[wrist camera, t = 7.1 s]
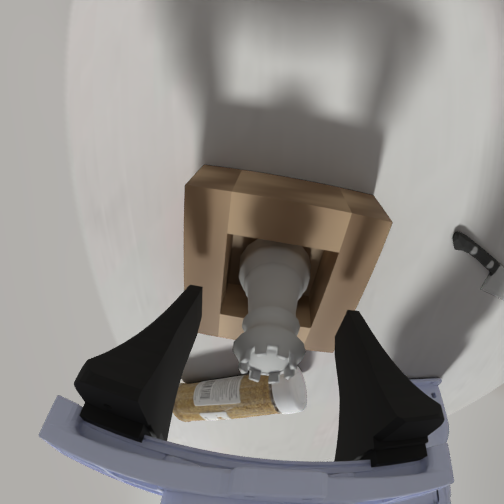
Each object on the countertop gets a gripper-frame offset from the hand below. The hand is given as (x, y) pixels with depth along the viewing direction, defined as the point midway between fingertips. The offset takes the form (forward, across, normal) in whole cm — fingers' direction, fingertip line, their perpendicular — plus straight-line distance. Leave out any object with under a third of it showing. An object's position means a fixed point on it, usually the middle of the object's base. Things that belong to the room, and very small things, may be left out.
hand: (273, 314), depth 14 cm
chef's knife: (+6, -21, -1) cm, 22 cm away
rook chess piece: (+5, 0, 0) cm, 5 cm away
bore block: (+6, 0, 0) cm, 6 cm away
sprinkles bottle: (+3, +7, +20) cm, 21 cm away
